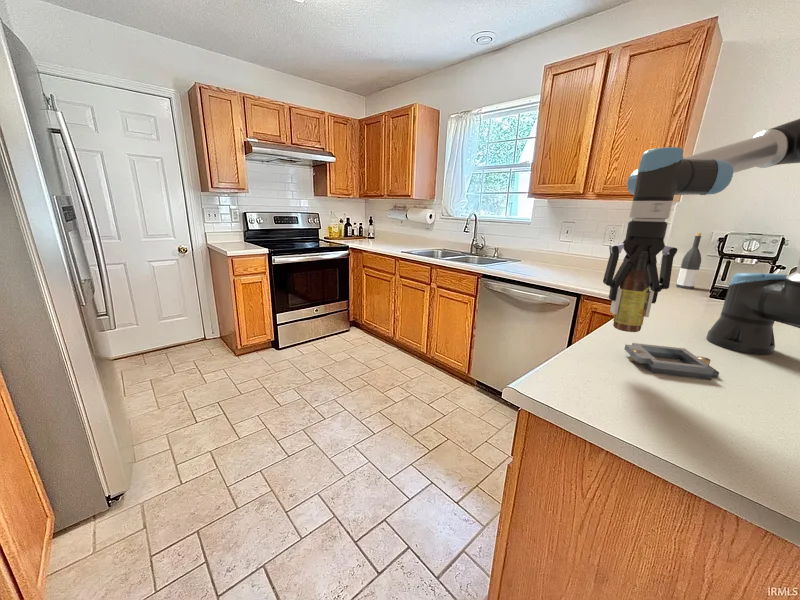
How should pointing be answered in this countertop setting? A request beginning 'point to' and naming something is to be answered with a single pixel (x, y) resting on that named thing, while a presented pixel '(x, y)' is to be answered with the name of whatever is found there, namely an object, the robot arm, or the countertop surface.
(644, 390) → the countertop surface
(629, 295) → the sauce bottle
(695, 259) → the wine bottle
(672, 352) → the upper chain end link
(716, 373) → the lower chain end link
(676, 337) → the countertop surface
